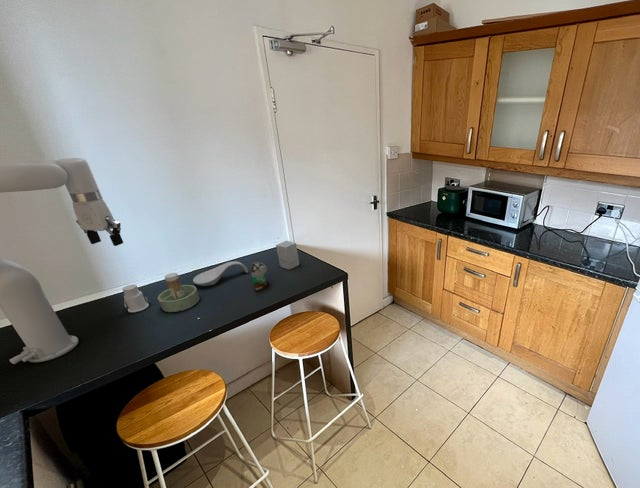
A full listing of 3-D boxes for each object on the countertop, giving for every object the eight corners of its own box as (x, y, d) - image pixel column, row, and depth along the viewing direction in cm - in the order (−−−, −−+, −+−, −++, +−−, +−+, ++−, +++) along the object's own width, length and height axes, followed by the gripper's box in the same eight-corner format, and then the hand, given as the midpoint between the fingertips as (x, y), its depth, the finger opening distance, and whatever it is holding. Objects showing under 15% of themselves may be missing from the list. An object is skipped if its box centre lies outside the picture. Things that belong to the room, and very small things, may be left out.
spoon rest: (199, 292, 142) (194, 278, 138) (191, 283, 149) (187, 270, 146) (251, 275, 157) (248, 262, 154) (242, 267, 164) (239, 255, 161)
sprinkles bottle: (187, 303, 132) (177, 275, 126) (174, 306, 130) (163, 278, 124) (187, 298, 135) (177, 271, 130) (174, 302, 133) (164, 274, 127)
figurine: (270, 290, 143) (266, 271, 139) (255, 292, 141) (251, 273, 137) (269, 278, 154) (265, 260, 149) (256, 280, 152) (251, 262, 147)
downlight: (153, 302, 134) (144, 281, 130) (146, 311, 128) (137, 290, 124) (130, 305, 132) (121, 284, 127) (123, 314, 126) (113, 293, 121)
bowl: (182, 314, 126) (178, 303, 123) (153, 311, 128) (149, 299, 126) (207, 297, 138) (203, 286, 135) (180, 294, 140) (176, 283, 138)
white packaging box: (300, 264, 168) (296, 242, 162) (288, 270, 162) (284, 247, 156) (290, 261, 171) (287, 240, 166) (279, 266, 165) (275, 244, 160)
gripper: (53, 198, 104) (76, 245, 112) (96, 200, 101) (117, 249, 109) (77, 193, 111) (98, 238, 118) (118, 195, 108) (137, 241, 115)
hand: (107, 243), depth 113 cm, fingers open, 9 cm apart
